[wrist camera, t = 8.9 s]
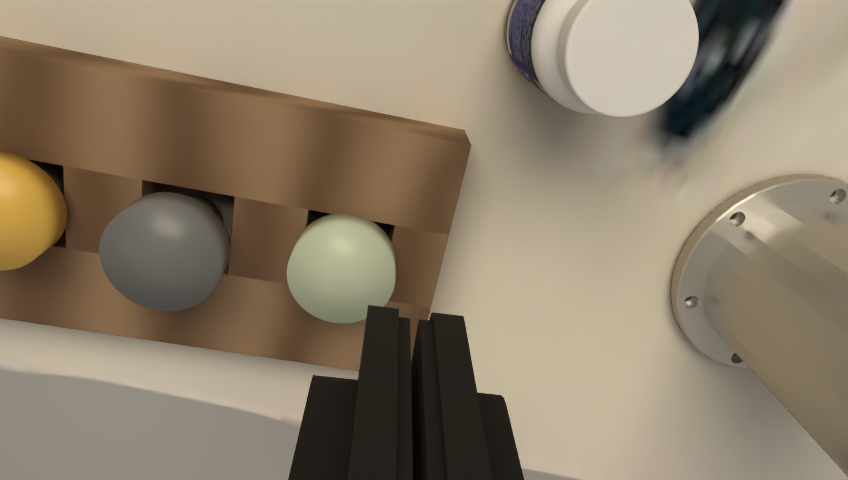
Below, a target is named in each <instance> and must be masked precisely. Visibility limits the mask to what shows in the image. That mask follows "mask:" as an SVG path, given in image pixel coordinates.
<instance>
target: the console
mask: <svg viewBox="0 0 848 480" xmlns="http://www.w3.org/2000/svg"><path fill="white" fill-rule="evenodd" d="M470 147H471V144H470V142H469V139H468V137H467V135H466V133H465V130H460V129H455V128H450V127H445V126H440V125H435V124H430V123H425V122H420V121H415V120H410V119H406V118H401V117H396V116H391V115H386V114H381V113H376V112H371V111H366V110H361V109H356V108H351V107H346V106H341V105H337V104H332V103H327V102H322V101H317V100H312V99H307V98H302V97H297V96H292V95H287V94H282V93H277V92H272V91H268V90H263V89H258V88H253V87H248V86H243V85H238V84H233V83H228V82H223V81H218V80H213V79H208V78H204V77H199V76H194V75H189V74H184V73H179V72H174V71H169V70H164V69H159V68H154V67H149V66H144V65H139V64H135V63H130V62H125V61H120V60H115V59H110V58H105V57H100V56H95V55H90V54H85V53H80V52H75V51H70V50H66V49H61V48H56V47H51V46H46V45H41V44H36V43H31V42H26V41H21V40H16V39H11V38H6V37H1V36H0V152H7V153H11V154H15V155H18V156H20V157H23V158H25V159H29V160H34V161H40V162H46V163H51V164H57V165H62V166H63V172H64V200H65V204H66V208H67V223H66V227H65V230H64V232H63V234H62V236H61V237H60V238H59V240H58V241H57V242H56V243H55V244H53V245H52V246H51V247H50V248H48V249H47V250H46V251H45V252H43V253H42V254H41V255H39V256H38V257H37V258H35V259H34V260H33V261H32V262H30V263H28V264H27V265H25V266H22V267H20V268H16V269H12V270H0V318H4V319H10V320H17V321H24V322H31V323H37V324H44V325H51V326H58V327H65V328H71V329H78V330H85V331H92V332H99V333H105V334H112V335H119V336H126V337H132V338H139V339H146V340H153V341H160V342H166V343H173V344H180V345H187V346H193V347H200V348H207V349H214V350H221V351H227V352H234V353H241V354H248V355H255V356H261V357H268V358H275V359H282V360H288V361H295V362H302V363H309V364H316V365H322V366H329V367H336V368H343V369H350V370H356V371H359V369H360V362H361V354H362V347H363V339H364V332H365V324H366V319H364V320H361V321H358V322H353V323H333V322H328V321H325V320H322V319H319V318H317V317H315V316H313V315H311V314H310V313H308V312H307V311H306V310H304V309H303V308H302V307H301V306H300V305H299V304H298V303H297V301H296V300H295V299H294V297H293V295H292V293H291V291H290V289H289V286H288V282H287V266H288V262H289V259H290V256H291V254H292V251H293V249H294V246H295V243H296V241H297V239H298V237H299V235H300V234H301V232H302V231H303V230H304V229H305V228H306V227H307V226H308V225H309V224H311V220H312V213H313V211H318V212H324V213H329V214H337V213H348V214H354V215H358V216H361V217H364V218H367V219H368V220H370V221H374V222H380V223H385V224H391V227H390V232H389V239H390V241H391V243H392V245H393V248H394V251H395V261H396V267H395V286H394V290H393V293H392V295H391V297H390V299H389V300H388V302H387V303H386V304H385V306H384V307H390V308H398V309H399V317H404V318H410V337H411V360H412V354H413V349H414V343H415V337H416V332H417V326H418V322H419V319H422V320H427V319H428V315H429V311H430V307H431V303H432V299H433V295H434V291H435V287H436V283H437V279H438V275H439V271H440V267H441V263H442V259H443V255H444V251H445V247H446V243H447V239H448V235H449V231H450V227H451V223H452V219H453V215H454V211H455V207H456V203H457V199H458V195H459V191H460V187H461V183H462V179H463V175H464V171H465V167H466V163H467V159H468V155H469V151H470ZM164 184H168V185H174V186H179V187H185V188H190V189H196V190H201V191H207V192H213V193H218V194H224V195H229V196H235V200H234V212H233V223H232V234H231V246H230V257H229V261H228V264H227V267H226V269H225V271H224V272H223V274H222V276H221V277H220V279H219V281H218V282H217V284H216V286H215V287H214V289H213V290H212V292H211V293H210V294H209V295H208V296H207V297H206V298H205V299H204V300H203V301H202V302H200V303H198V304H197V305H195V306H193V307H190V308H187V309H183V310H178V311H160V310H154V309H150V308H147V307H144V306H141V305H139V304H137V303H135V302H133V301H131V300H129V299H128V298H126V297H125V296H124V295H122V294H121V293H120V292H119V291H118V290H117V289H116V288H115V287H114V286H113V285H112V284H111V282H110V281H109V279H108V278H107V276H106V274H105V273H104V271H103V268H102V265H101V262H100V257H99V244H100V239H101V236H102V234H103V231H104V230H105V228H106V226H107V225H108V224H109V223H110V221H111V220H112V219H114V218H115V217H116V216H117V215H118V214H120V213H121V212H122V211H123V210H124V209H125V208H127V207H128V206H129V205H130V204H131V203H133V202H134V201H135V200H137V199H139V198H140V197H143V196H145V195H148V194H152V193H158V192H163V191H164Z"/></svg>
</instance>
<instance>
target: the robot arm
mask: <svg viewBox="0 0 848 480" xmlns="http://www.w3.org/2000/svg"><path fill="white" fill-rule="evenodd" d="M671 299H672V307H673V312H674V314H675V317H676V320H677V322H678V325H679V326H680V328H681V329H682V331H683V332H684V334H685V335H686V337H687V338H688V339H689V340H690V341H691V342H692V343H693V345H694V346H695V347H696V348H697V349H698V350H699V351H700V352H702V353H703V354H705V355H706V356H708V357H709V358H710V359H712V360H714V361H717V362H719V363H722V364H724V365H726V366H731V367H736V368H741V369H751V370H752V371H753V373H754V374H755V375H756V376H757V377H758V378H759V379H760V380H761V381H762V382H763V384H764V385H765V386H766V387H767V388H768V389H769V390H770V391H771V392H772V394H773V395H774V396H775V397H776V398H777V399H778V400H779V401H780V402H781V403H782V405H783V406H784V407H785V408H786V409H787V410H788V411H789V412H790V413H791V415H792V416H793V417H794V418H795V419H796V420H797V421H798V422H799V423H800V424H801V426H802V427H803V428H804V429H805V430H806V431H807V432H808V433H809V434H810V436H811V437H812V438H813V439H814V440H815V441H816V442H817V443H818V444H819V445H820V447H821V448H822V449H823V450H824V451H825V452H826V453H827V454H828V455H829V457H830V458H831V459H832V460H833V461H834V462H835V463H836V464H837V465H838V466H839V468H840V469H841V470H842V471H843V472H844V473H845V474H846V475H847V476H848V183H845V182H843V181H841V180H838V179H834V178H831V177H827V176H823V175H811V174H796V175H789V176H782V177H777V178H773V179H770V180H767V181H764V182H761V183H758V184H755V185H753V186H751V187H749V188H747V189H745V190H743V191H741V192H739V193H737V194H735V195H734V196H732V197H731V198H730V199H728V200H727V201H725V202H724V203H722V204H721V205H720V206H718V207H717V208H716V209H715V210H714V211H713V212H712V213H711V214H710V215H708V216H707V217H706V218H705V219H704V220H703V221H702V222H701V223H700V225H699V226H698V227H697V228H696V230H695V231H694V232H693V234H692V235H691V236H690V238H689V239H688V240H687V242H686V244H685V246H684V248H683V250H682V252H681V254H680V256H679V257H678V260H677V264H676V267H675V270H674V273H673V277H672V287H671ZM288 480H524V478H523V473H522V469H521V465H520V461H519V457H518V452H517V448H516V444H515V440H514V436H513V432H512V428H511V423H510V419H509V415H508V411H507V407H506V403H505V400H504V398H503V397H502V396H501V395H494V394H485V393H477V389H476V384H475V378H474V372H473V367H472V361H471V355H470V350H469V344H468V338H467V333H466V327H465V321H464V317H463V316H457V315H449V314H441V313H432V314H431V317H430V320H422V319H419V322H418V326H417V332H416V337H415V343H414V349H413V354H412V360H411V337H410V318H404V317H399V309H398V308H390V307H381V306H373V305H368V309H367V317H366V324H365V332H364V339H363V347H362V354H361V362H360V369H359V377H358V380H353V379H344V378H334V377H325V376H315V375H313V377H312V381H311V385H310V389H309V393H308V397H307V402H306V406H305V410H304V415H303V419H302V423H301V427H300V432H299V436H298V441H297V445H296V449H295V453H294V458H293V462H292V466H291V471H290V475H289V479H288Z"/></svg>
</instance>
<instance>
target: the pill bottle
mask: <svg viewBox="0 0 848 480" xmlns="http://www.w3.org/2000/svg"><path fill="white" fill-rule="evenodd" d="M503 37H504V44H505V48H506V51H507V54H508V56H509V59H510V61H511V62H512V64H513V65H514V67H515V68H516V69H517V71H518V72H519V73H520V74H521V75H522V76H523V77H524V78H526V79H527V80H528V81H529V82H531V83H532V84H533V85H535V86H536V87H537V88H539V89H540V90H541V91H542V92H544V93H545V94H546V95H548V96H549V97H550V98H552V99H553V100H554V101H556V102H557V103H559V104H560V105H562V106H564V107H566V108H568V109H570V110H573V111H575V112H579V113H584V114H592V115H593V114H597V115H599V114H602V115H605V116H609V117H618V118H626V117H633V116H637V115H641V114H644V113H647V112H649V111H651V110H653V109H655V108H657V107H659V106H660V105H662V104H663V103H664V102H666V101H667V100H668V99H669V98H670V97H672V96H673V95H674V94H675V93H676V91H677V90H678V89H679V88H680V87H681V85H682V84H683V83H684V81H685V80H686V78H687V76H688V75H689V73H690V71H691V69H692V66H693V64H694V61H695V57H696V53H697V49H698V38H699V35H698V25H697V20H696V16H695V13H694V11H693V8H692V6H691V4H690V3H689V1H688V0H511V1H510V3H509V6H508V8H507V11H506V15H505V19H504V26H503Z"/></svg>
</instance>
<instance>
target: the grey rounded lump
mask: <svg viewBox="0 0 848 480" xmlns="http://www.w3.org/2000/svg"><path fill="white" fill-rule="evenodd" d="M99 257H100V262H101V265H102V268H103V271H104V273H105V274H106V276H107V278H108V279H109V281H110V282H111V284H112V285H113V286H114V287H115V288H116V289H117V290H118V291H119V292H120V293H121V294H122V295H124V296H125V297H126V298H128V299H129V300H131V301H133V302H135V303H137V304H139V305H141V306H144V307H147V308H150V309H154V310H160V311H178V310H183V309H187V308H190V307H193V306H195V305H197V304H198V303H200V302H202V301H203V300H204V299H205V298H206V297H207V296H208V295H209V294H210V293H211V292H212V290H213V289H214V287H215V286H216V284H217V282H218V281H219V279H220V277H221V276H222V274H223V272H224V271H225V269H226V267H227V264H228V261H229V257H230V242H229V238H228V234H227V232H226V229H225V227H224V225H223V218H222V215H221V213H220V211H219V209H218V208H217V206H216V205H215V204H214V203H213V202H211V201H210V200H209V199H207V198H205V197H203V196H201V195H197V194H179V193H172V192H158V193H152V194H148V195H145V196H143V197H140V198H139V199H137V200H135V201H134V202H133V203H131V204H130V205H129V206H128V207H127V208H125V209H124V210H123V211H122V212H121V213H120V214H118V215H117V216H116V217H115V218H114V219H112V220H111V221H110V223H109V224H108V225H107V226H106V228H105V230H104V231H103V234H102V236H101V239H100V244H99Z"/></svg>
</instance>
